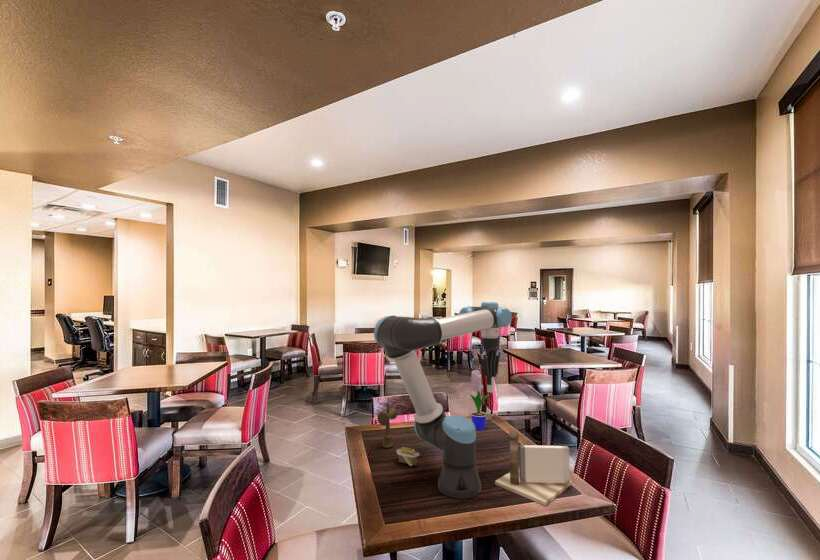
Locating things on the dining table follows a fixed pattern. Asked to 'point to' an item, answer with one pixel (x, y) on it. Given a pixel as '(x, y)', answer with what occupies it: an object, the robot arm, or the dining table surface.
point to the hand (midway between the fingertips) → (490, 391)
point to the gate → (544, 464)
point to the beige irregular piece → (407, 456)
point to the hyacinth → (478, 402)
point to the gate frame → (530, 490)
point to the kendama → (387, 424)
